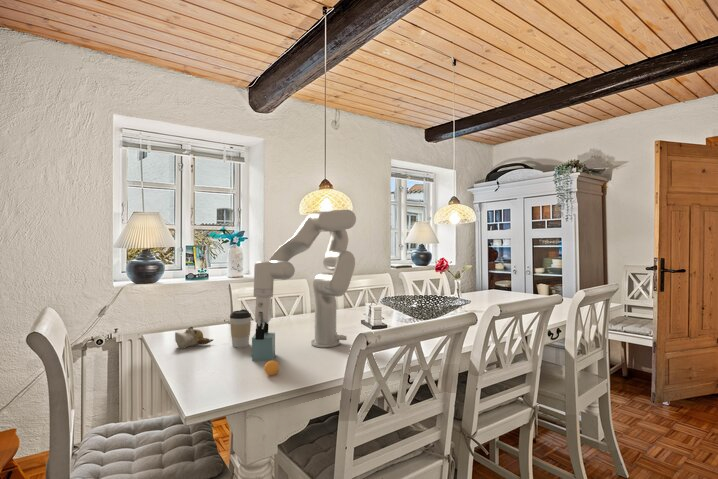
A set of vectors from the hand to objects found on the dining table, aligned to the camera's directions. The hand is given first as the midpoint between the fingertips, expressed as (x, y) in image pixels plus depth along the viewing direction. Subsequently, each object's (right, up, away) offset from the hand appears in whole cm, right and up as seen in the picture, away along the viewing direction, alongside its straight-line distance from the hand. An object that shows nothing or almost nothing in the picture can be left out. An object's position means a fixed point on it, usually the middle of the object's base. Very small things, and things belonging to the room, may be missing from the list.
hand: (261, 336), depth 156 cm
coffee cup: (-14, -8, +18) cm, 24 cm away
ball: (+8, -6, -19) cm, 21 cm away
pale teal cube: (+1, -8, +1) cm, 8 cm away
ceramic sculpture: (-34, -8, +16) cm, 39 cm away
